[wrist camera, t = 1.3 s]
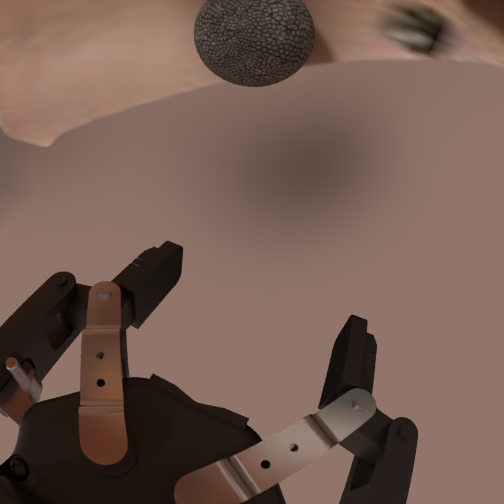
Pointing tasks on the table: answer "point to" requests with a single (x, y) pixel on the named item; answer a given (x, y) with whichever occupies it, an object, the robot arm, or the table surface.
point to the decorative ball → (254, 39)
